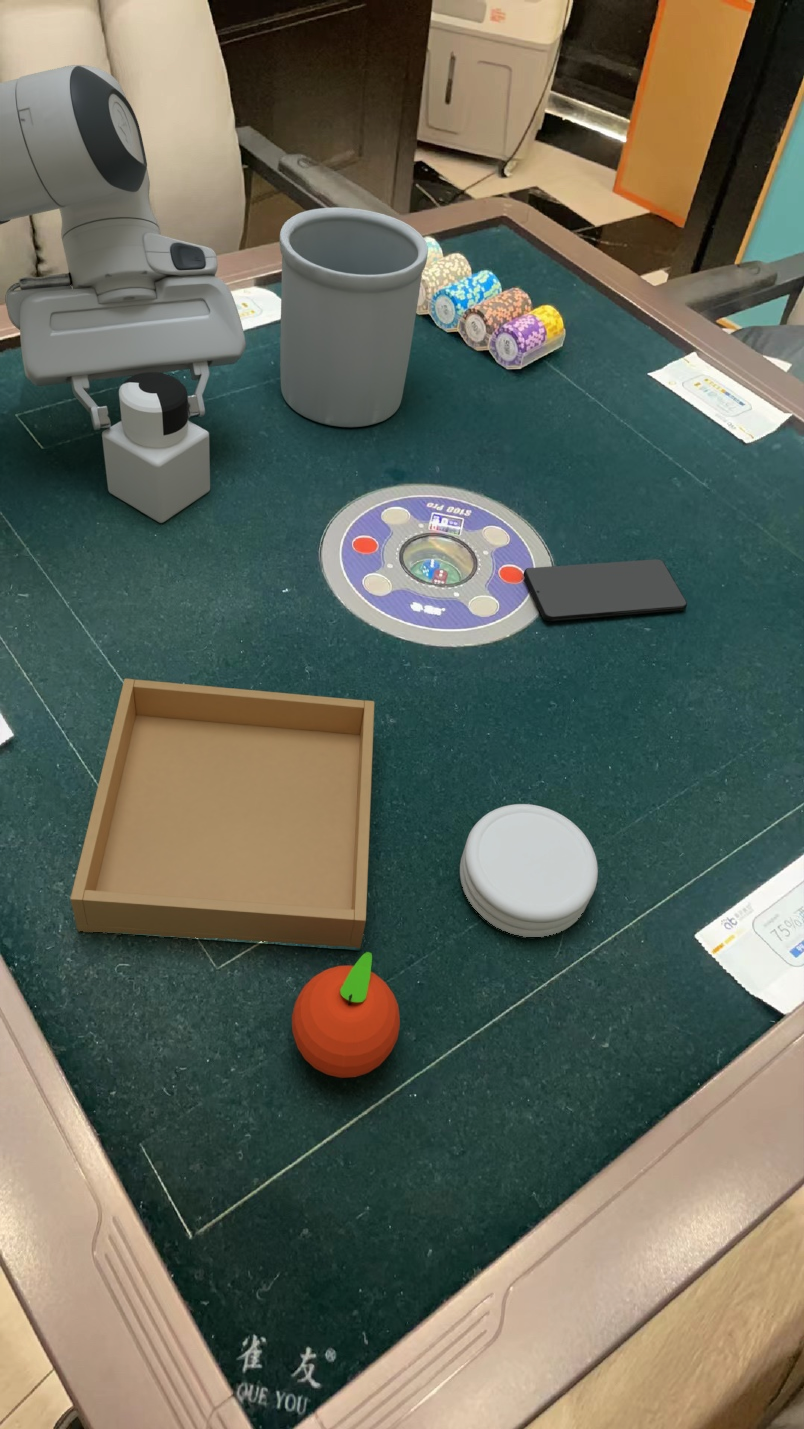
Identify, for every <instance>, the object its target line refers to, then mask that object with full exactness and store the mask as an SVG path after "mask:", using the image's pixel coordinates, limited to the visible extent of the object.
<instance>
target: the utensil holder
mask: <svg viewBox="0 0 804 1429" xmlns="http://www.w3.org/2000/svg"><path fill="white" fill-rule="evenodd" d="M279 249H280V250H279V251H280V254H281V289H280V290H281V292H280V293H281V295H280V336H279V337H280V338H279V340H280V341H279V343H280V345H279V346H280V350H279V353H280V355H279V356H280V357H279V358H280V359H279V362H280V365H279V369H280V371H279V372H280V374H279V375H280V391H281V394H282V397H283V399H284V401H285V402H286V404H287V405H288V406H289V407H290V408H291V409H292V410H293V411H295V412H296V413H297V414H299V415H300V416H303V417H304V418H306V419H309V420H311V421H313V422H316V423H319V424H323V425H325V426H326V425H327V426H332V427H337V428H338V427H340V428H360V427H361V428H362V427H368V426H372V425H376V424H378V423H382V422H384V421H386V420H388V419H389V418H390V417H392V416H394V414H395V413H396V412H397V411H398V409H399V408H400V406H401V404H402V400H403V395H404V394H403V393H404V388H405V383H406V378H407V372H408V367H409V361H410V355H411V348H412V341H413V335H414V329H415V322H416V321H415V320H416V316H417V310H418V304H419V299H420V298H419V297H420V292H421V285H422V284H421V283H422V275H423V272H424V270H425V268H426V266H427V260H428V254H429V247H428V244H427V241H426V240H425V238H424V237H423V235H422V234H421V233H420V232H419V231H418V230H417V229H415V228H414V227H413V226H411V225H410V224H408V223H406V222H404V221H403V220H400V219H397V218H395V217H394V216H390V215H387V214H385V213H380V212H377V211H372V210H368V209H360V208H355V207H354V208H353V207H337V206H336V207H334V206H333V207H321V208H313V209H309V210H304V211H302V212H299V213H297V214H295V215H293V216H291V217H290V218H289V219H287V220H286V221H285V222H284V224H283V225H282V227H281V229H280V233H279Z"/></svg>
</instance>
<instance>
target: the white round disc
mask: <svg viewBox="0 0 804 1429" xmlns="http://www.w3.org/2000/svg"><path fill="white" fill-rule="evenodd" d="M598 868H599V867H598V860H597V856H596V854H595V851H594V848H593V845H592V844H591V842H590V841H589V839H588V837H587V836H586V835H585V833H584V832H583V831H582V830H581V829H580V828H579V827H578V825H576V824H575V823H574V822H573V821H572V820H570V819H568V818H567V817H566V816H564V815H563V814H561V813H559V812H557V811H556V810H553V809H550V808H547V807H544V806H540V805H537V804H529V803H515V804H508V805H503V806H500V807H497V808H495V809H493V810H491V811H489V812H488V813H486V814H485V815H484V816H482V817H481V818H480V819H479V820H478V821H476V823H475V824H474V826H473V827H472V828H471V830H470V832H469V833H468V836H467V838H466V841H465V845H464V848H463V851H462V854H461V857H460V862H459V880H460V884H461V887H463V888H462V891H463V894H464V896H465V895H466V896H465V898H466V897H467V898H466V900H467V899H468V900H467V901H468V903H469V902H470V903H469V905H470V904H471V905H472V906H471V905H470V906H471V908H472V907H473V908H474V909H475V910H476V911H477V912H478V913H479V914H480V915H481V916H482V917H483V918H484V919H485V920H487V921H488V922H489V923H490V924H492V925H493V926H495V927H496V928H495V927H494V928H495V929H497V928H499V929H501V930H502V931H501V930H500V931H501V932H503V931H506V932H508V933H510V934H509V935H511V934H514V935H519V936H523V937H522V938H526V937H541V938H545V937H544V936H547V937H550V936H549V935H551V936H554V935H556V933H557V934H559V933H561V931H562V932H563V931H565V930H567V929H568V928H570V927H572V926H573V925H574V924H575V923H576V922H577V921H579V919H580V918H581V917H582V915H583V914H584V912H585V910H586V908H587V906H588V904H590V900H591V898H592V897H593V895H594V893H595V891H596V887H597V883H598V877H599V876H598V874H599V869H598ZM473 908H472V909H473ZM474 909H473V910H474ZM475 910H474V911H475ZM476 911H475V912H476ZM477 912H476V913H477ZM582 913H583V914H582ZM581 914H582V915H581ZM480 915H479V916H480ZM481 916H480V917H481ZM482 917H481V918H482ZM483 918H482V919H483ZM578 918H579V919H578ZM484 919H483V920H484ZM485 920H484V921H485ZM488 922H487V923H488ZM489 923H488V924H489ZM490 924H489V925H490ZM492 925H491V926H492ZM493 926H492V927H493ZM499 929H498V930H499ZM508 933H507V934H508ZM553 934H554V935H553ZM514 935H513V936H514ZM519 936H518V937H519Z"/></svg>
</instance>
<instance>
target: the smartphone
mask: <svg viewBox="0 0 804 1429" xmlns="http://www.w3.org/2000/svg"><path fill="white" fill-rule="evenodd" d="M522 577H523V578H524V581H525V582H526V585H527V587H528V590H529V592H530V594H531V596H532V598H533V601H534V603H535V604H536V606H537V609H538V611H539V613H540V615H541V617H542V619H543V620H544V621H546V622H559V621H560V622H561V621H571V620H582V619H595V618H608V617H618V616H619V617H620V616H631V615H644V614H657V613H667V612H668V613H669V612H679V611H684V610H686V608H688V602H687V600H686V598H685V596H684V595H683V593H682V591H681V589H680V588H679V585H678V584H677V583H676V581H675V579H674V577H673V576H672V574H671V572H670V571H669V569H668V567H667V565H666V564H665V562H664V561H663V559H660V558H659V559H658V558H654V559H641V560H640V559H639V560H624V561H612V562H611V561H610V562H609V561H608V562H597V563H596V562H594V563H580V564H568V565H555V566H537V567H528V568H525V569H524V571H523V576H522Z"/></svg>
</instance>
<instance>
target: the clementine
mask: <svg viewBox="0 0 804 1429" xmlns="http://www.w3.org/2000/svg"><path fill="white" fill-rule="evenodd" d="M372 954H373V953H372V952H369V951H366V952H364V953H363V954H362V955H361V956H360V957H359V959H358V960H357V961H356V963H354V964H353V965H351V964H350V965H337V966H334V967H330V968H327V969H325V970H323V971H321V972H320V973H317V974H316V975H314V976H312V978H310V980H308V982H306V984H304V986H303V987H302V989H301V990H300V993H299V994H298V996H297V998H296V1000H295V1003H294V1007H293V1010H292V1014H291V1027H292V1028H291V1030H292V1035H293V1038H294V1041H295V1044H296V1047H297V1049H298V1051H299V1052H300V1055H301V1056H302V1057H303V1059H304V1060H305V1061H306V1062H307V1063H308V1064H310V1066H311V1067H313V1068H314V1069H315V1070H317V1071H319V1072H321V1073H323V1074H325V1075H327V1076H332V1077H336V1078H342V1079H344V1078H356V1077H361V1076H363V1075H366V1074H369V1073H370V1072H372V1071H373V1070H375V1069H376V1068H379V1066H381V1065H382V1063H384V1061H385V1060H386V1059H387V1058H388V1057H389V1055H390V1054H391V1052H392V1051H393V1049H394V1047H395V1045H396V1043H397V1041H398V1037H399V1034H400V1033H399V1032H400V1027H401V1019H400V1018H401V1017H400V1010H399V1004H398V1001H397V999H396V996H395V994H394V992H393V991H392V990H391V989H390V987H389V985H388V984H387V983H386V981H384V979H382V978H381V977H380V976H378V975H377V974H376V973H374V972H373V971H372V965H373V955H372Z"/></svg>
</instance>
